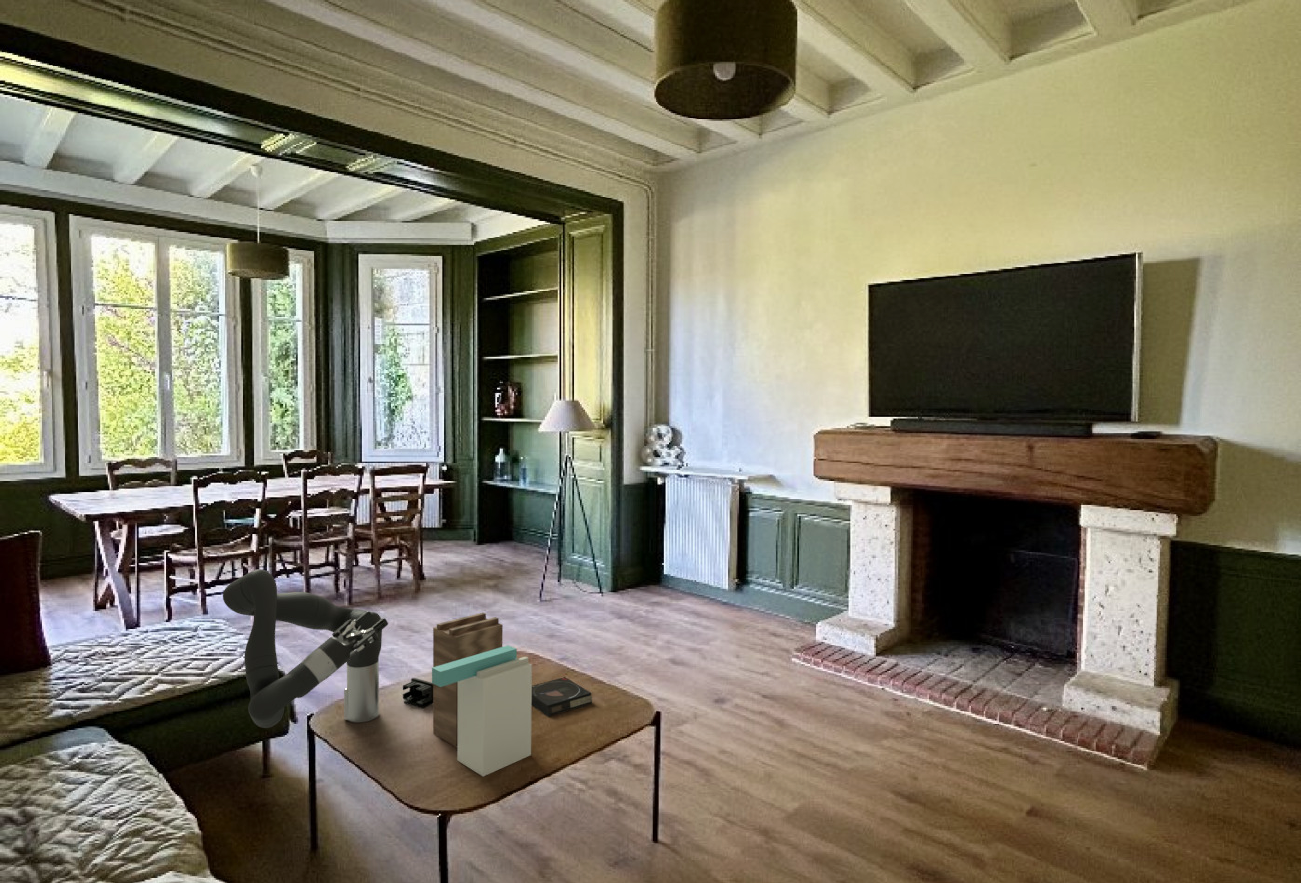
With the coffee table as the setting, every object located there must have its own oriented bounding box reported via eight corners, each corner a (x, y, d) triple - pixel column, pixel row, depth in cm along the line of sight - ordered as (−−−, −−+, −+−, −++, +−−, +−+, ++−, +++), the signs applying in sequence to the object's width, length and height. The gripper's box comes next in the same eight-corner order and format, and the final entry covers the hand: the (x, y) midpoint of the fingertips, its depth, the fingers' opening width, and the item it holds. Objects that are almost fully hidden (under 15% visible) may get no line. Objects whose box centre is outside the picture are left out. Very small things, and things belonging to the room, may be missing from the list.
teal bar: (440, 687, 185) (440, 671, 185) (432, 682, 188) (432, 667, 187) (516, 662, 203) (516, 648, 202) (507, 659, 205) (507, 645, 205)
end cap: (440, 701, 237) (440, 681, 237) (424, 709, 231) (424, 688, 231) (418, 695, 242) (418, 675, 242) (401, 702, 236) (401, 682, 236)
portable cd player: (548, 718, 227) (548, 706, 227) (522, 700, 241) (522, 688, 240) (592, 705, 238) (592, 693, 237) (564, 688, 251) (564, 677, 251)
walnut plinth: (455, 746, 207) (456, 632, 205) (433, 733, 215) (433, 622, 213) (501, 728, 219) (502, 619, 217) (478, 716, 227) (479, 611, 225)
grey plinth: (482, 776, 191) (483, 674, 190) (457, 760, 199) (457, 662, 198) (530, 755, 203) (531, 659, 201) (505, 740, 211) (505, 648, 209)
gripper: (330, 656, 177) (384, 612, 187) (306, 642, 187) (358, 600, 197) (346, 678, 180) (398, 633, 190) (321, 663, 190) (372, 621, 200)
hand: (378, 616), depth 193 cm, fingers open, 8 cm apart
